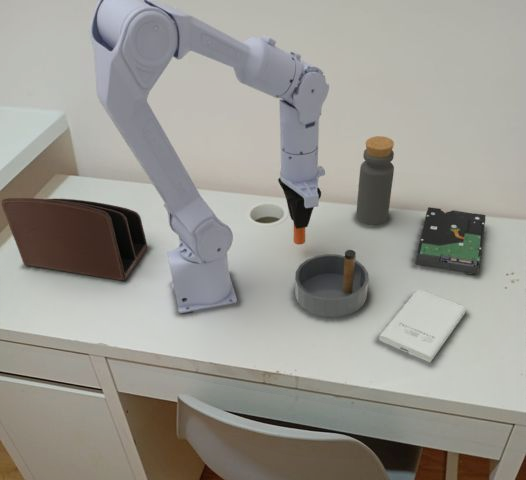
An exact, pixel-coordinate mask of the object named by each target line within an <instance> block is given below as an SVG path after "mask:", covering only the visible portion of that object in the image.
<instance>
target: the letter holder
mask: <svg viewBox="0 0 526 480" xmlns="http://www.w3.org/2000/svg"><path fill="white" fill-rule="evenodd" d="M1 207H2V209H3V212H4V214H5V218H6V220H7V223H8V226H9V229H10V232H11V234H12V236H13V239H14V241H15V245H16V247H17V249H18V252H19V255H20V258H21V260H22V263H23V265H24V266H27V267H35V268H41V269H48V270H55V271H60V272H68V273H73V274H78V275H79V274H80V275H85V276H92V277H97V278H105V279H109V280H115V281H121V282H126V280H127V278H128V277H129V276H130V274H131V273H132V271H133V270H134V268H135V267H136V265H137V264H138V262H139V261H140V260H141V258H142V257H143V255H144V254H145V252H146V251H147V250H148V242H147V238H146V235H145V231H144V230H145V229H144V225H143V221H142V217H141V215H140V214H139V213H138V212H137V211H135V210H133V209H129V208H127V207H123V206H118V205H113V204H109V203H104V202H103V203H102V202H97V201H89V200H82V199H73V198H72V199H71V198H34V197H33V198H32V197H31V198H30V197H11V198H10V197H9V198H4V199H2V200H1Z"/></svg>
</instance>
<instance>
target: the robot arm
mask: <svg viewBox="0 0 526 480" xmlns="http://www.w3.org/2000/svg"><path fill="white" fill-rule="evenodd" d="M88 36H89V39H90V40H91V45H92V48H93V60H94V74H95V87H96V96H97V98H98V101H99V103H100V104H101V106H102V107H103V109H104V110H105V112H106V115H108V117H109V119H110V120H111V122H112V123H113V124H114V126H115V128H116V129H117V131H118V132H119V134H120V135H121V137H122V139H123V140H124V142H125V143H126V145H127V147H128V148H129V150H130V151H131V153H132V154H133V156H134V157H135V159H136V160H137V162H138V163H139V166H140V167H141V168H142V170H143V171H144V173H145V175H146V176H147V177H148V179H149V180H150V182H151V184H152V185H153V187H154V189H155V190H156V191H157V193H158V194H159V196H160V198H161V199H162V201H163V202H164V203H163V207H164V208H165V210H166V212H167V215H168V217H167V218H168V225H169V227H170V229H171V230H172V231H173V232H174V233H175V234H176V235H177V236H178V240H179V241H178V242H179V243H178V247H177V248H175V249H172V250H170V251H167V252H166V253H167V259H168V264H169V270H170V275H171V280H172V282H171V283H170V285H171V291H172V294H173V295H175V299H176V300H175V301H176V305H177V310H178V313H179V314H184V313H190V312H194V311H198V310H205V309H210V308H215V307H221V306H226V305H232V304H237V302H238V299H237V294H236V292H235V289H234V285H233V282H232V278H231V275H230V268H229V260H228V259H229V258H228V252H229V250H230V249H231V247H232V244H233V241H234V235H233V231H232V229H231V227H230V226H229V225H228V224H226V223H224V222H223V221H221V219H219V218H218V216H217V215H216V214H215V213H214V211H213V210H212V208H211V207H210V206H209V205H208V203H207V202H206V201H205V199H204V198H203V197H202V196H201V194H200V192H199V190H198V189H197V186H195V183H194V182H193V180H192V178H191V177H190V174H189V173H188V171H187V169H186V167H185V165H184V164H183V162H182V161H181V159H180V157H179V155H178V153H177V152H176V149H175V148H174V146H173V145H172V143H171V141H170V139H169V138H168V136H167V134H166V132H165V131H164V129H163V126H162V125H161V124H160V122H159V120H158V118H157V116H156V115H155V113H154V111H153V110H152V107H151V106H150V103H148V97H149V95H150V92H151V91H152V89H153V88H154V86H155V85H156V83H157V82H158V80H159V79H160V77H161V76H162V75H163V73H164V71H165V70H166V69H167V67H168V66H169V64H170V63H171V61H172V59H173V58H175V60H182V59H183V58H184V57H185V56H187V54H188V53H189V52H194V53H195V54H198V55H201V56H204V57H205V58H209V59H211V60H213V61H216V62H219V63H221V64H223V65H225V66H228V67H231V68H233V71H234V74H235V77H236V80H237V81H238V82H239V83H241V84H243V85H245V86H247V87H250V88H251V89H254V90H256V91H259V92H262V93H263V94H266V95H268V96H271V97H273V98H275V99H279V100H278V101H279V138H280V140H279V141H280V142H279V143H280V171H279V178H278V179H277V182H278V184H279V186H280V187H281V189H282V190H283V194H284V197H285V200H286V204H287V209H288V214H289V217H290V219H291V221H292V222H293V226H294V225H295V228H296V229H298V228H304V227H305V228H308V226H309V224H310V221H311V217H312V215H313V210H314V208H315V207H319V202H320V201H319V200H320V199H321V197H322V191H321V189H320V187H318V186H319V178H320V177H324V176H325V175H326V170H325V168H324V167H323V166H322V165H319V135H320V133H319V132H320V117H321V116H322V108H323V105H324V103H325V100H326V99H327V97H328V94H329V90H330V83H329V84H328V83H327V81H326V80H327V79H326V76H325V75H324V72H323V70H322V69H320V68H319V67H317V66H315V65H313V64H312V63H309V62H307V61H305V60H304V59H301V58H302V55H301V54H300V53H298V52H296V51H293V50H291V51H290V52H288V51H285V50H284V49H282V48H281V47H278V46H276V43H277V41H276V40H275V39H273V38H271V37H269V36H268V35H265V34H264V35H262V37H261V38H260V37H258V36H252V37H249V38H247V39H245V40H244V41H240V40H239V39H236V38H234V37H233V36H231V35H229V34H227V33H225V32H223V31H222V30H219V29H218V28H217V27H213V26H212V25H211V24H208V23H207V22H204V21H203V20H201V19H199V18H198V17H195V16H194V15H191V14H189V13H187V12H186V11H184V10H181V9H180V8H178V7H174V6H173V5H169V4H166V3H162V2H160V1H157V0H98V1H97V2H96V5H95V7H94V11H93V13H92V17H91V21H90V23H89V27H88Z"/></svg>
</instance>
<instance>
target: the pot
mask: <svg viewBox="0 0 526 480" xmlns="http://www.w3.org/2000/svg"><path fill="white" fill-rule="evenodd" d="M344 261H345V255H342V254H336V253H335V254H333V253H330V254H329V253H326V254H325V253H324V254H319V255H315V256H313V257H310V258H308V259H306V260H305V261H303V262H302V263H301V264H300V265H299V266H298V267H297V269H296V270H295V277H294V295H295V296H294V297H295V299H296V301H297V303H298V305H299V306H300V307H301V308H302V309H303V310H305V311H306V312H307V313H309V314H312V315H313V316H317V317H321V318H327V319H328V318H329V319H337V318H343V317H347V316H350V315H352V314H354V313H356V312H358V311H359V310H360V309H361V308H362V307H363V306H364V305H365V303H366V301H367V299H368V291H369V290H368V288H369V281H370V279H369V272H368V270H367V269H366V267H365V266H364V265H363V264H362V263H361V262H360V261H358V260H357V259H355V266H354V277H353V289H352V292H351V293H344V292H343V291H342V289H343V275H344Z"/></svg>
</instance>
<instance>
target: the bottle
mask: <svg viewBox="0 0 526 480" xmlns="http://www.w3.org/2000/svg"><path fill="white" fill-rule="evenodd" d="M394 146H395V142H394V141H393V139H392V138H389V137H387V136H383V135H381V136H380V135H379V136H376V135H375V136H372V137H369V138H367V139H366V141H365V149H364V150H363V156H362V157H363V159H364V161H363V162H362V163H361V164H360V168H359V177H358V188H357V189H358V190H357V202H356V215H355V217H356V219H357V221H358V222H359V223H361V224H363V225H365V226H369V227H370V226H372V227H374V226H375V227H377V226H380V225H383V224H384V223H386V222H387V220H388V218H389V210H390V203H391V197H392V188H393V180H394V173H395V166H394V164H393V163H392V161H393V160H394V158H395V157H394V156H395V152H394V150H393V149H394V148H393V147H394Z"/></svg>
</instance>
